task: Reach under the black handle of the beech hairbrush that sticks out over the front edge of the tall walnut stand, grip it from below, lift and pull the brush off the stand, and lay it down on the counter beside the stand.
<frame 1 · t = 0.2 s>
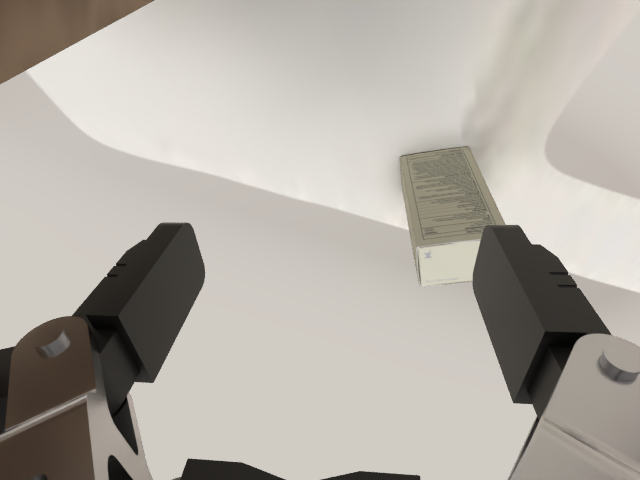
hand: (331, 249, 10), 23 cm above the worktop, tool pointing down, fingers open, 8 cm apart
skincare box: (434, 168, 35), on the worktop
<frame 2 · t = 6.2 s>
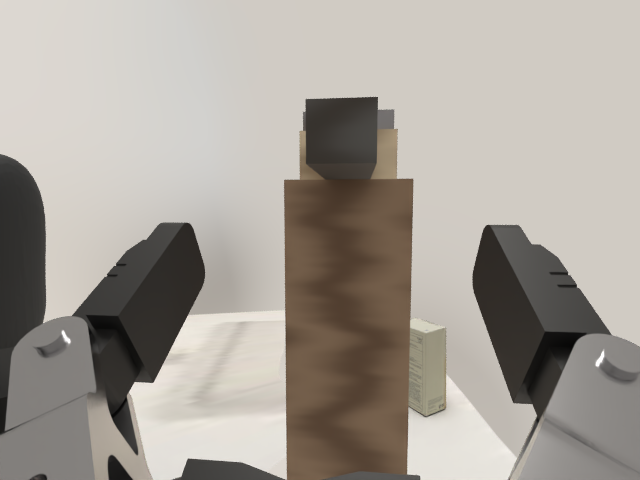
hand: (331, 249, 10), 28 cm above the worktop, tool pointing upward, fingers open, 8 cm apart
skincare box: (419, 404, 55), on the worktop
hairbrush: (349, 183, 27), point 31 cm above the worktop, touching walnut stand
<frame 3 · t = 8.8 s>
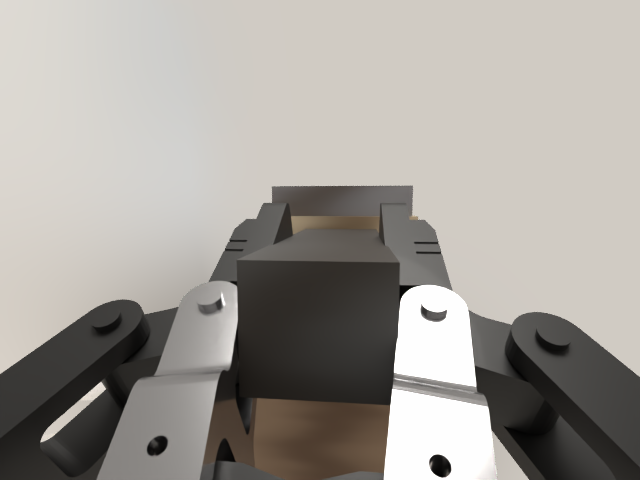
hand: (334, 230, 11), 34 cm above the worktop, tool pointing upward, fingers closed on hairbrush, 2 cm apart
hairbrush: (344, 272, 19), point 31 cm above the worktop, touching gripper, walnut stand
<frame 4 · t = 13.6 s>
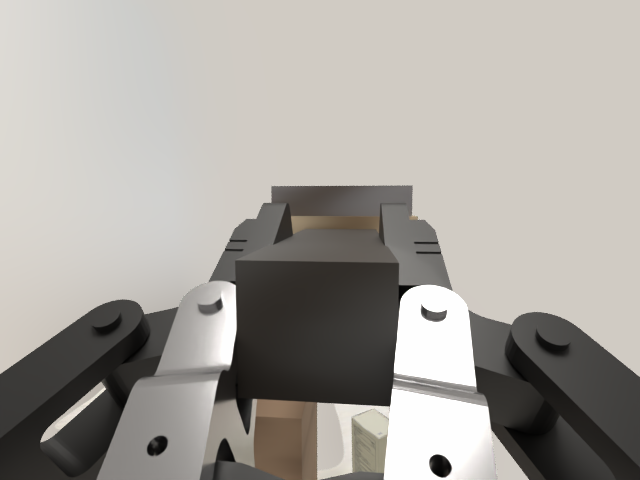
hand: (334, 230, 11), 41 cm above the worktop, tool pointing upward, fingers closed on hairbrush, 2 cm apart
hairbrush: (343, 272, 19), point 39 cm above the worktop, touching gripper
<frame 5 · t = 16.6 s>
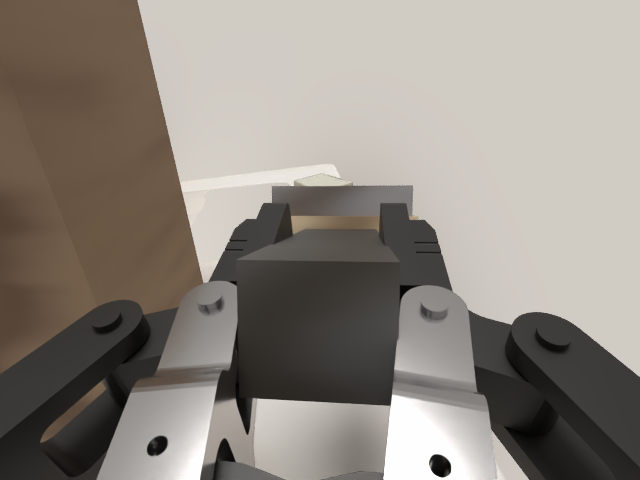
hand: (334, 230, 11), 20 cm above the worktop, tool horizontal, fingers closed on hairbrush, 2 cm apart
skincare box: (329, 274, 47), on the worktop
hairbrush: (344, 272, 19), point 14 cm above the worktop, tilted 21°, touching gripper
when the fingers open (10 cm above the worktop, at t = 18.7 s): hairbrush drops 4 cm, on the worktop.
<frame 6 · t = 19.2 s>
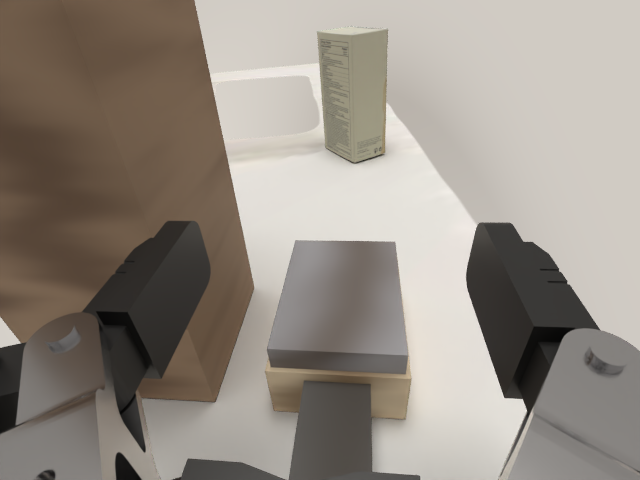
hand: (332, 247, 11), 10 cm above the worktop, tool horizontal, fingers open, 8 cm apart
skincare box: (352, 152, 42), on the worktop
walnut stand: (170, 333, 21), on the worktop
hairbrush: (342, 344, 20), on the worktop
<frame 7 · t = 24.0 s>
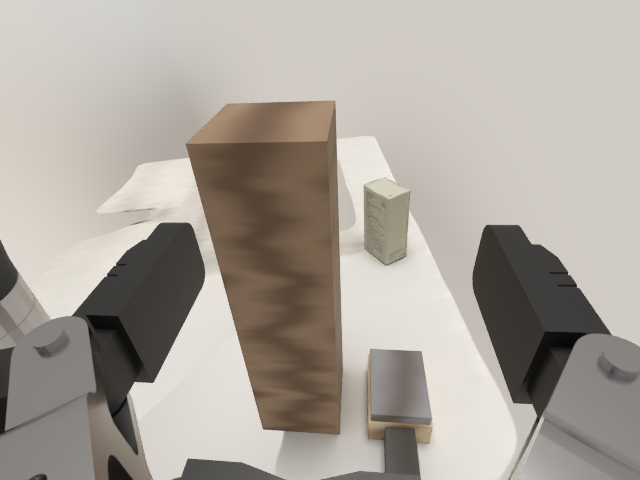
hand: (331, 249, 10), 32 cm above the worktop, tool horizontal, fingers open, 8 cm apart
skincare box: (383, 252, 63), on the worktop
walnut stand: (305, 396, 42), on the worktop
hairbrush: (395, 403, 40), on the worktop
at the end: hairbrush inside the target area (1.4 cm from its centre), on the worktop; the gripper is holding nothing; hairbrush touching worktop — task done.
